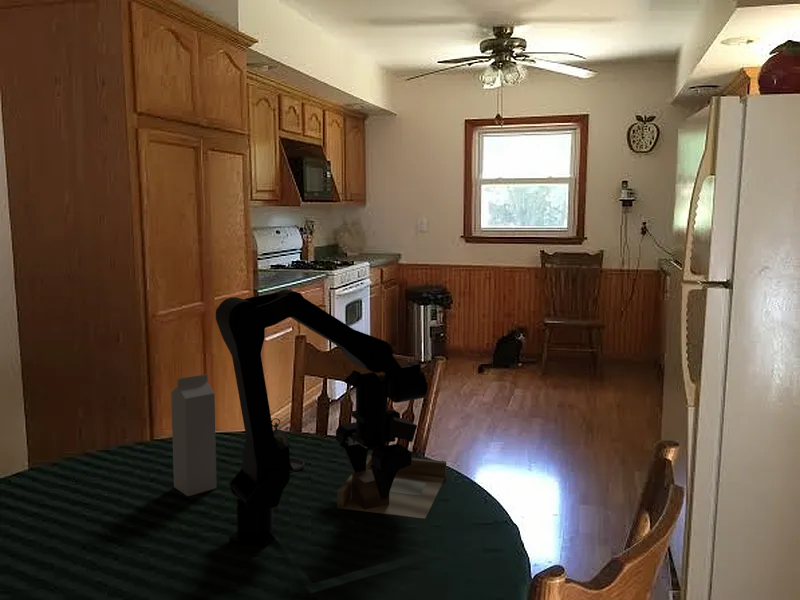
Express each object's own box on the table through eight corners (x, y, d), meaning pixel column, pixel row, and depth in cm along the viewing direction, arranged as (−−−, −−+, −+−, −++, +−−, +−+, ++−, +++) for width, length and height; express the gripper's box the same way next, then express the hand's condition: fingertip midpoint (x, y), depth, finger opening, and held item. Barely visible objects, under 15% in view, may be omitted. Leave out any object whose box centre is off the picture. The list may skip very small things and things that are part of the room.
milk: (216, 488, 131) (215, 377, 128) (187, 497, 127) (184, 382, 124) (202, 479, 135) (200, 371, 133) (172, 487, 131) (170, 375, 128)
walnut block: (389, 503, 123) (389, 477, 122) (364, 509, 120) (364, 482, 119) (375, 494, 127) (376, 468, 126) (352, 499, 124) (352, 473, 124)
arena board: (424, 524, 117) (425, 501, 117) (337, 512, 121) (337, 491, 120) (445, 480, 136) (446, 461, 136) (369, 472, 140) (369, 453, 140)
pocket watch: (301, 474, 138) (301, 427, 137) (260, 473, 139) (259, 426, 137) (307, 460, 147) (307, 415, 145) (268, 459, 147) (268, 414, 146)
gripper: (438, 413, 117) (437, 499, 120) (385, 388, 133) (385, 464, 135) (382, 423, 112) (382, 513, 114) (333, 396, 128) (335, 475, 130)
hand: (372, 489), depth 123 cm, fingers open, 8 cm apart
